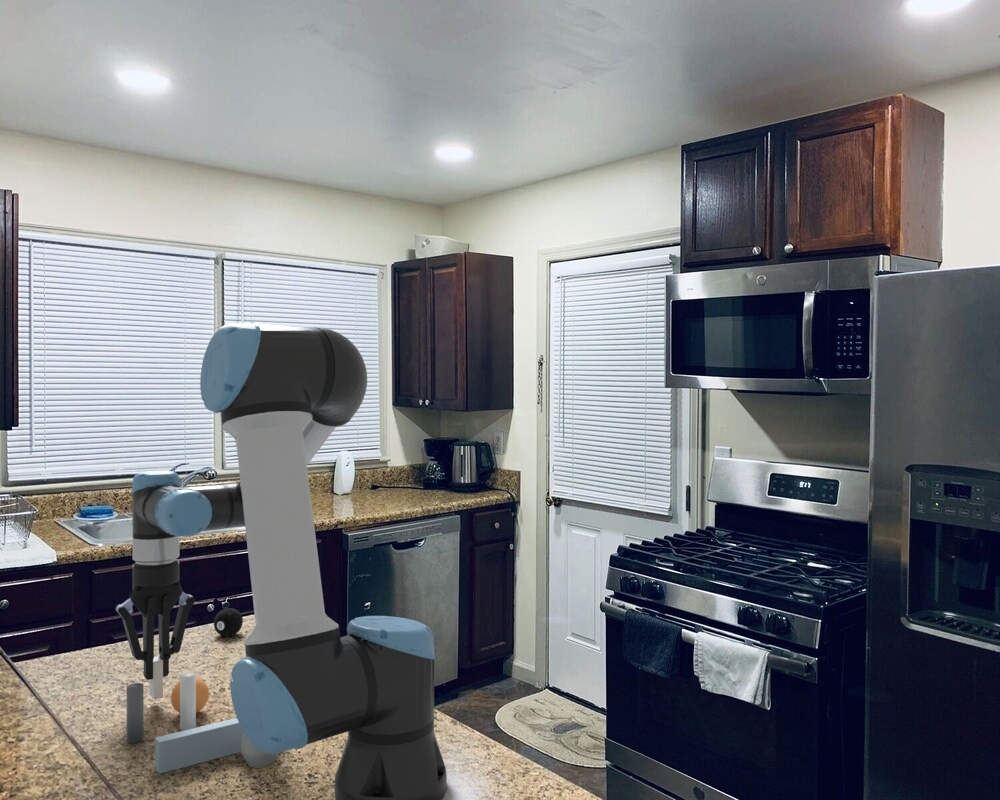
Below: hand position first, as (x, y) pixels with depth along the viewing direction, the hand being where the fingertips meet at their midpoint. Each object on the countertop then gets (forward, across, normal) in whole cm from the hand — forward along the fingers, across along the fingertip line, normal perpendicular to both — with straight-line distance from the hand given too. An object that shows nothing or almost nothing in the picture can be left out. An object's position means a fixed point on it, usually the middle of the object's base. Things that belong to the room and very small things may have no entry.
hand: (156, 696), depth 140 cm
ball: (-1, -4, +7) cm, 8 cm away
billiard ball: (+2, -24, -33) cm, 41 cm away
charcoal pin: (+2, +6, +13) cm, 15 cm away
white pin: (+2, -2, +13) cm, 13 cm away
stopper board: (+2, -3, +26) cm, 26 cm away
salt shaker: (+2, -7, +32) cm, 33 cm away
